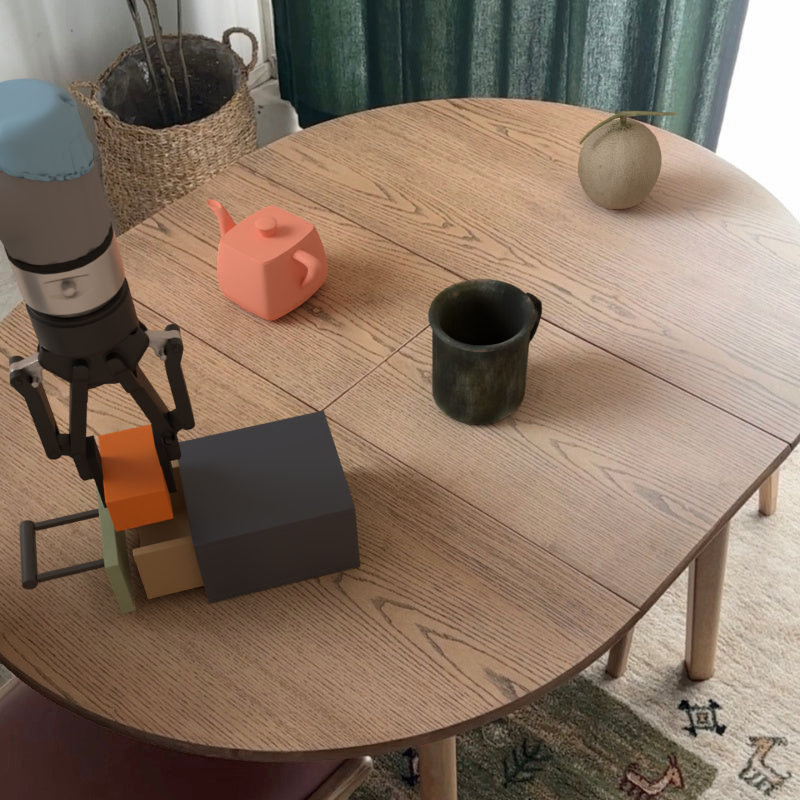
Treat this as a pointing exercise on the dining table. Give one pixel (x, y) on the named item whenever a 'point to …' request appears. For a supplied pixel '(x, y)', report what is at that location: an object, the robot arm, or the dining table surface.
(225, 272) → the teapot
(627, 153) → the fruit
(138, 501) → the orange gripped block
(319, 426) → the cabinet
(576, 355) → the dining table surface
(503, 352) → the mug
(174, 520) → the drawer
